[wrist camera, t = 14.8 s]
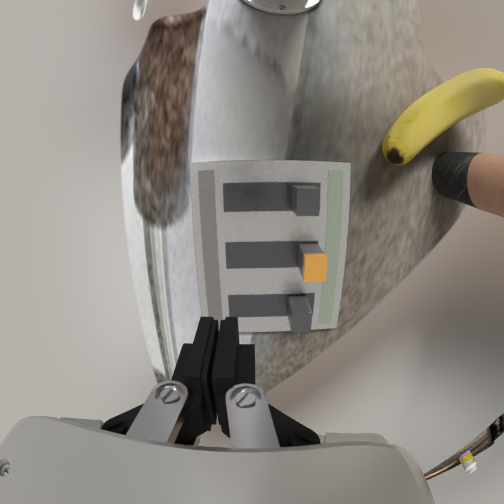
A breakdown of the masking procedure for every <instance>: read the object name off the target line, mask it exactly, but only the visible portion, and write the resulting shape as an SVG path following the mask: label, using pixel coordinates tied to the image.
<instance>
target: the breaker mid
mask: <svg viewBox="0 0 504 504" xmlns="http://www.w3.org/2000/svg"><path fill="white" fill-rule="evenodd" d="M327 258H328V256H327V255H326V253H324V252H323V250H322V249H321V248H320V246H319V245H318V244H298V268H299V270H300V273H301V275H302V279H303V282H323V281H326V270H327Z"/></svg>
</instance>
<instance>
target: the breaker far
mask: <svg viewBox="0 0 504 504" xmlns="http://www.w3.org/2000/svg"><path fill="white" fill-rule="evenodd" d="M312 314H313V312H312V310H311V307H310V304H309V302H308V299H307V296H289V297H288V319H289V324H290V329H291V333H304V332H311V324H312Z"/></svg>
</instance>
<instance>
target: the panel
mask: <svg viewBox="0 0 504 504" xmlns="http://www.w3.org/2000/svg"><path fill="white" fill-rule="evenodd" d="M350 175H351V163H344V162H326V161H298V160H245V161H216V162H199V163H190V179H191V199H192V215H193V230H194V243H195V255H196V266H197V276H198V286H199V295H200V304H201V313H202V317H213V318H214V320H218V326H219V328H220V323H221V320H225V318H226V317H238V329H239V332H273V331H291V329H290V324H289V319H288V297H289V296H307V299H308V302H309V304H310V307H311V310H312V312H313V314H312V324H311V330H315V329H329V328H336V327H337V321H338V315H339V308H340V301H341V293H342V285H343V277H344V268H345V258H346V247H347V235H348V221H349V203H350ZM291 185H312V186H315V187H317V188H319V189H320V207H319V216H296V215H295V213H294V212H293V211H292V210H291ZM298 244H318V245H319V246H320V248H321V249H322V250H323V252H324V253H326V255H327V256H328V258H327V270H326V281H323V282H303V279H302V275H301V273H300V270H299V268H298Z"/></svg>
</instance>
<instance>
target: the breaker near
mask: <svg viewBox="0 0 504 504" xmlns="http://www.w3.org/2000/svg"><path fill="white" fill-rule="evenodd" d="M319 207H320V189H319V188H317V187H315V186H312V185H291V210H292V211H293V212H294V213H295V215H296V216H319Z"/></svg>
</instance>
